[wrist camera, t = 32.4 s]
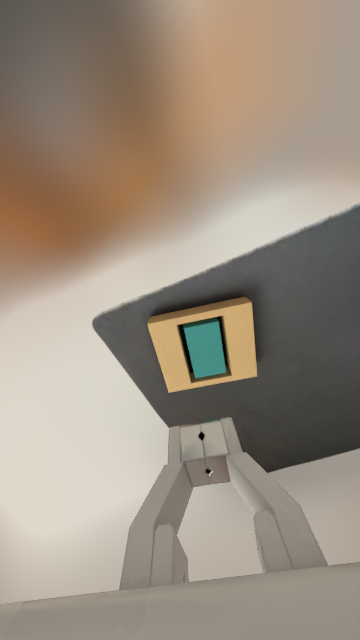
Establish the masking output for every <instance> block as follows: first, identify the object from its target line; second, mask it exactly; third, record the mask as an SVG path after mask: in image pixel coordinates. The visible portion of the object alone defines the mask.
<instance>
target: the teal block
mask: <svg viewBox="0 0 360 640" xmlns="http://www.w3.org/2000/svg"><path fill="white" fill-rule="evenodd" d="M183 326H184V332H185V336H186V341H187V345H188V349H189V354H190V358H191V362H192V367H193V371H194V375H195V378H200V377H206V376H211V375H216V374H222V373H226V368H225V361H224V354H223V347H222V340H221V334H220V327H219V321H218V319H217V317H213V318H208V319H204V320H199V321H194V322H189V323H184V324H183Z"/></svg>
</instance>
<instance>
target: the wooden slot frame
mask: <svg viewBox="0 0 360 640" xmlns="http://www.w3.org/2000/svg"><path fill="white" fill-rule="evenodd" d="M218 316H221V323H222V329H223V336H224V343H225V350H226V357H227V364H228V366H225V368H226V373H222V374H216V375H211V376H206V377H200V378H195V375H194V372H190V371H189V367H188V363H187V358H186V354H185V350H184V346H183V342H182V338H181V334H180V330H179V326H178V325H179V324H184V323H189V322H194V321H199V320H204V319H208V318H213V317H218ZM147 325H148V328H149V331H150V334H151V337H152V341H153V344H154V347H155V350H156V353H157V356H158V360H159V363H160V366H161V369H162V372H163V375H164V379H165V382H166V385H167V388H168V391H169V392H175V391H180V390H185V389H191V388H196V387H201V386H207V385H212V384H217V383H223V382H228V381H232V380H233V381H234V380H240V379H245V378H250V377H256V376H257V367H256V353H255V339H254V326H253V312H252V302H251V301H250V300H249V299H247V298H246V297H241V298H236V299H231V300H227V301H222V302H218V303H213V304H208V305H203V306H199V307H194V308H189V309H185V310H180V311H175V312H170V313H166V314H161V315H156V316H151V317H150V318H149V321H148V324H147Z"/></svg>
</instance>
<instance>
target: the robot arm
mask: <svg viewBox="0 0 360 640" xmlns="http://www.w3.org/2000/svg"><path fill="white" fill-rule="evenodd" d="M225 482H231V484H232V485H233V486H234V488H235V489H236V490H237V491H238V493H239V494H240V496H241V497H242V498H243V500H244V501H245V503H246V504H247V505H248V507H249V508H250V509H251V511H252V512H253V513H254V526H255V534H256V542H257V550H258V554H259V558H260V562H261V565H262V569H263V573H262V574H254V575H246V576H237V577H228V578H220V579H212V580H203V581H194V582H189V581H188V560H187V557H186V554H185V552H184V550H183V548H182V546H181V544H180V542H179V539H178V537H177V533H178V530H179V527H180V524H181V521H182V518H183V516H184V513H185V510H186V507H187V504H188V501H189V498H190V495H191V493H192V490H193V488H192V487H198V486H203V485H209V484H216V483H225ZM0 640H360V562H357V563H348V564H340V565H331V566H328V564H327V562H326V560H325V558H324V555H323V553H322V551H321V549H320V547H319V545H318V543H317V541H316V538H315V536H314V534H313V532H312V530H311V528H310V526H309V523H308V521H307V519H306V517H305V515H304V513H303V511H302V509H301V507H300V505H299V504H298V503H297V502H296V501H295V500H294V499H293V498H292V497H291V496H290V495H289V494H288V493H287V492H286V491H285V490H284V489H283V488H282V487H281V486H280V485H279V484H278V483H277V482H276V481H275V480H274V479H273V478H272V477H271V476H270V475H269V474H268V473H267V472H266V471H265V470H264V469H263V468H262V467H261V466H260V465H259V464H257V463H256V462H255V461H254V460H253V459H252V458H251V457H250V456H249V455H248V454H247V453H246V452H245V453H243V452H242V449H241V446H240V443H239V439H238V436H237V433H236V430H235V427H234V424H233V421H232V418H231V417H228V418H223V419H216V420H211V421H205V422H200V423H196V424H189V425H182V426H176V427H170V429H169V444H168V465H165V466H164V467H163V469H162V471H161V473H160V474H159V476H158V478H157V480H156V481H155V484H154V485H153V487H152V489H151V490H150V492H149V494H148V496H147V497H146V499H145V501H144V503H143V505H142V507H141V508H140V510H139V512H138V514H137V516H136V517H135V519H134V521H133V522H132V524H131V526H130V528H129V534H128V540H127V546H126V552H125V558H124V564H123V570H122V577H121V582H120V588H119V590H117V591H109V592H101V593H92V594H83V595H74V596H66V597H57V598H49V599H40V600H32V601H23V602H15V603H7V604H0Z"/></svg>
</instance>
